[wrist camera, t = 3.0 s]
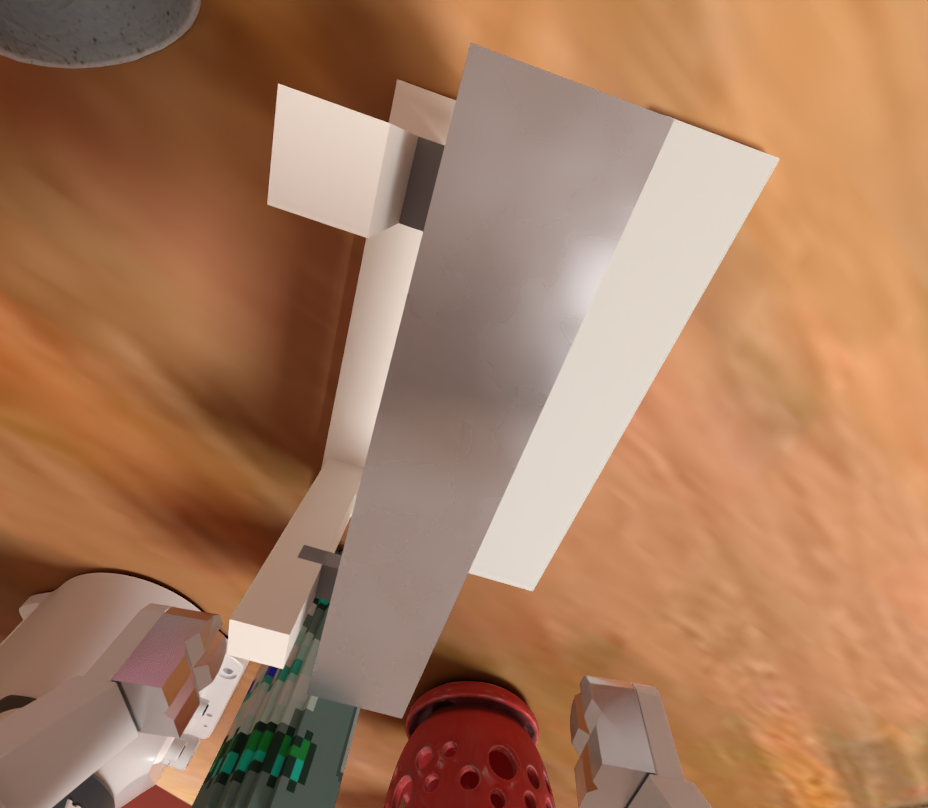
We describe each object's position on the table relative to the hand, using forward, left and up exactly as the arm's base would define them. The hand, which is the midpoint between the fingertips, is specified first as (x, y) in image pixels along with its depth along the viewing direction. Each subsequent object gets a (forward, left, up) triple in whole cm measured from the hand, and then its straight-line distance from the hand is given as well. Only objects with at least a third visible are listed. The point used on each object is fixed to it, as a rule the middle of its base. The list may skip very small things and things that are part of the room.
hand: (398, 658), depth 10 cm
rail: (0, 0, -8) cm, 8 cm away
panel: (0, -7, -17) cm, 18 cm away
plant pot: (-31, -11, -17) cm, 37 cm away
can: (-19, +3, -17) cm, 26 cm away
